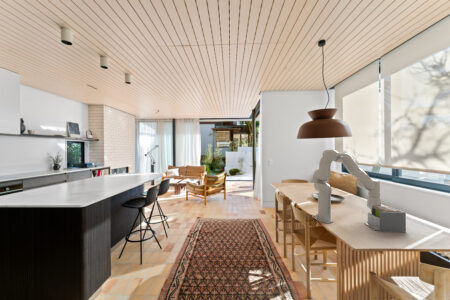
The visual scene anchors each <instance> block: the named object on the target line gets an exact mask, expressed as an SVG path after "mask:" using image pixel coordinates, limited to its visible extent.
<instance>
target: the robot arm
mask: <svg viewBox="0 0 450 300" xmlns="http://www.w3.org/2000/svg"><path fill="white" fill-rule="evenodd" d="M321 156H322V157H321V158H320V160H319V164H318V165H319V166H318V169H316V170H315V171H314V175H313V177H314V178H313V180H314V182H313V185H314V186H313V187H314V189H315V190H316V191H317V192H318V196H317V211H318V212H317V213H316V215H315V214H312V215H311V217H312V218H314V219H316V221H318V222H320V223H325V224H331V223H333V222H334V219H333V218H332V202H331V201H332V199H331V198H332V197H331V196H332V192H333V189H332V186H331V185H330V183H327V182H328V181H330V180H331V168H332V167H331V166H332V163H333V162H337V163H342V165H343V166H344V168H345V169H346V170H347V172H348V173H349V174H351V176H354V177H355V178H357V179H358V180H357V181H356V187H358V188H360V189H363V190H366V191H368V195H367V199H366V206H367V208H369V210H370V213H372V205H374V206H379V205H380V206H382V202H381V181H380V180H377V179H372V178H371V177H370V176H369V174H368V173H366V171H364V170H363V169H362V168H361V167H360V166H359V165H358V164H357V162H356V160H355V159H354V157H353V156H352V155H351V154H350V153H348V152H338V150H336V149H325V150H323V151H322V155H321Z"/></svg>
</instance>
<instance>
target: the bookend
mask: <svg viewBox="0 0 450 300" xmlns="http://www.w3.org/2000/svg"><path fill="white" fill-rule="evenodd" d="M364 225H365V226H366V227H369V228H370V229H372V230H374V231H375V232H376V231H377V232H381V231H380V217H377V216H375V215H373V214H372V212H367V223H366V222H365V223H364Z"/></svg>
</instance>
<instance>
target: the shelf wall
mask: <svg viewBox="0 0 450 300" xmlns="http://www.w3.org/2000/svg"><path fill="white" fill-rule="evenodd" d="M389 207H390V208H392V209H395V210H398V211H399V212H379V216H380V231H379V232H386V233H389V232H390V233H406V232H407V219H406V218H407V214H406V211H402V210H400V209H397V208H394V207H392V206H389Z"/></svg>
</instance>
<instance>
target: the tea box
mask: <svg viewBox="0 0 450 300" xmlns="http://www.w3.org/2000/svg"><path fill="white" fill-rule="evenodd" d="M390 207H391V206H386V205H381V206H380V205H379V206H374V205H372V212H371V214H373V215H375V216H377V217H380V216H379V212H399V211H398V210H399V209H397V210H395V209H396V208H395V209H392V208H393V207H392V208H390Z"/></svg>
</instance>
